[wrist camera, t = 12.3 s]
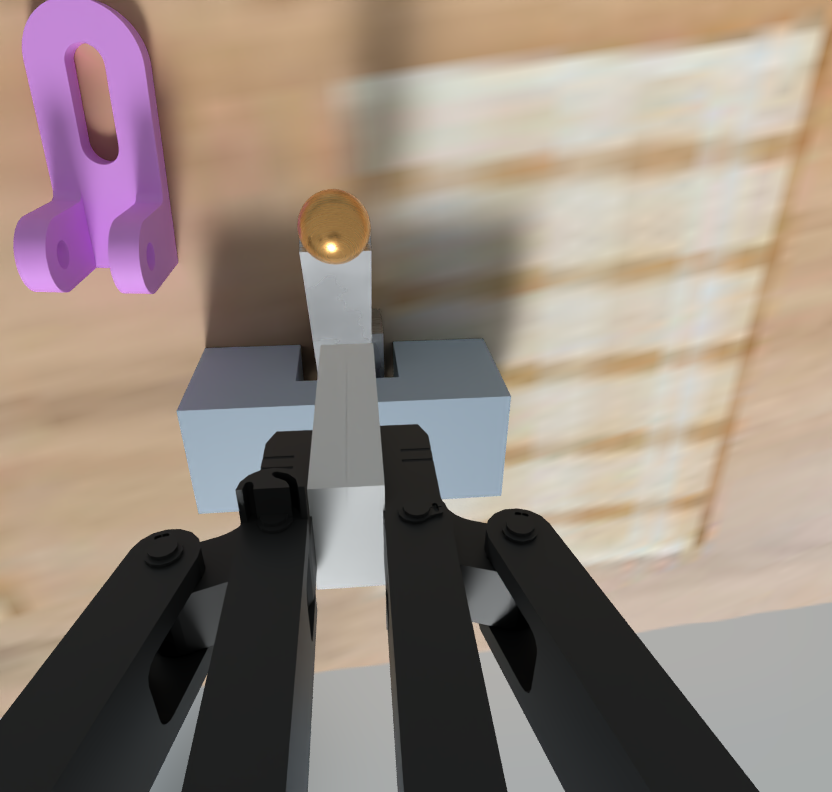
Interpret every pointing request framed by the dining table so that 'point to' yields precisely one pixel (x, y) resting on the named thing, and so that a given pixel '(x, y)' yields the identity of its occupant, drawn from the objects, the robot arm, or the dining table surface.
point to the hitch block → (295, 403)
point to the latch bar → (336, 268)
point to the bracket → (95, 159)
